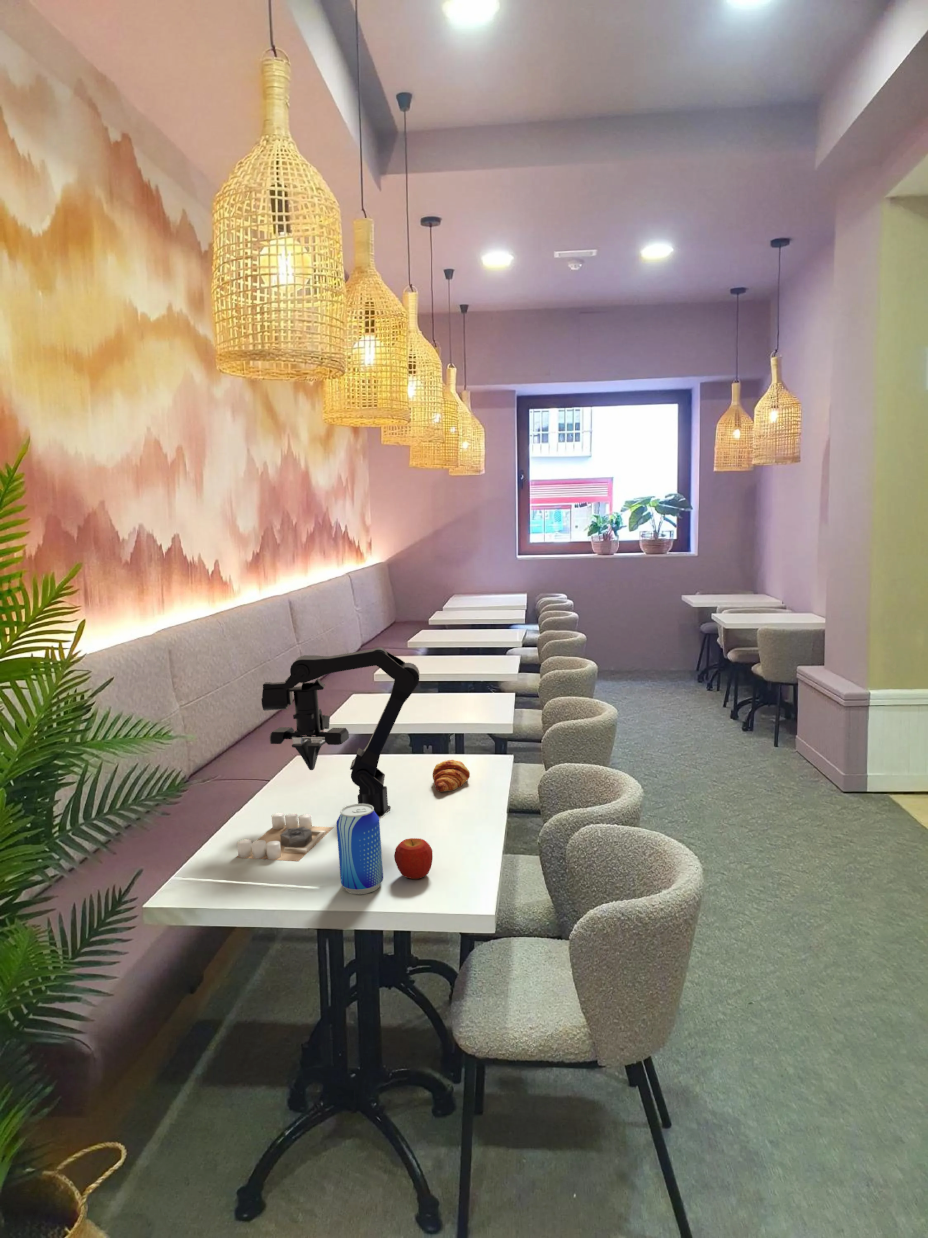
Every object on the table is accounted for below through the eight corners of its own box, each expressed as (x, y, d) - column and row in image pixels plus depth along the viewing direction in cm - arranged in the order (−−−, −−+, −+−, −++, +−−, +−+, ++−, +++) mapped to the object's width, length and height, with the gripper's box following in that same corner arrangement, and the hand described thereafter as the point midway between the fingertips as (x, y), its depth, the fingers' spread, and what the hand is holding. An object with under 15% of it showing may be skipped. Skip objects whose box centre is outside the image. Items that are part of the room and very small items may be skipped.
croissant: (451, 782, 235) (437, 758, 235) (481, 766, 232) (467, 742, 232) (432, 807, 214) (416, 780, 214) (464, 790, 212) (448, 764, 212)
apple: (403, 888, 162) (400, 850, 161) (390, 872, 169) (388, 836, 168) (439, 879, 165) (437, 842, 164) (425, 864, 172) (423, 829, 171)
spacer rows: (314, 826, 196) (313, 814, 195) (277, 860, 177) (276, 846, 177) (276, 824, 198) (275, 812, 198) (235, 857, 180) (234, 844, 180)
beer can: (365, 899, 158) (360, 820, 156) (332, 891, 162) (326, 813, 160) (392, 882, 165) (387, 805, 163) (359, 874, 169) (354, 799, 167)
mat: (333, 829, 194) (333, 824, 194) (298, 863, 176) (298, 857, 176) (276, 826, 198) (275, 821, 198) (235, 859, 180) (235, 853, 180)
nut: (315, 837, 189) (314, 827, 189) (302, 849, 182) (301, 839, 182) (291, 836, 190) (290, 825, 190) (277, 848, 184) (276, 837, 184)
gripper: (354, 700, 205) (359, 760, 207) (286, 700, 210) (291, 759, 212) (337, 711, 195) (342, 774, 197) (266, 710, 199) (271, 773, 201)
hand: (311, 769), depth 202 cm, fingers closed
